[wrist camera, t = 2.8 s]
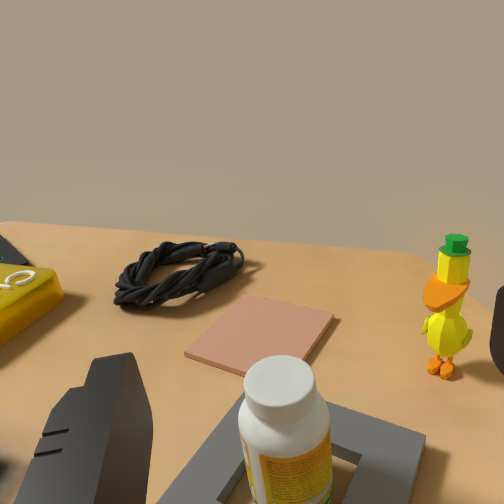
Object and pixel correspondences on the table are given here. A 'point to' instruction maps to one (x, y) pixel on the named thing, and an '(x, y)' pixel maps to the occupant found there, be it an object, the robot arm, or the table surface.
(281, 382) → the supplement bottle
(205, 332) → the terracotta tile
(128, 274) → the cable
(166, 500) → the socket block
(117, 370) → the robot arm
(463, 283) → the toy figure
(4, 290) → the element tile
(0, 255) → the smart home device
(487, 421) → the table surface
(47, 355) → the table surface
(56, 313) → the table surface
